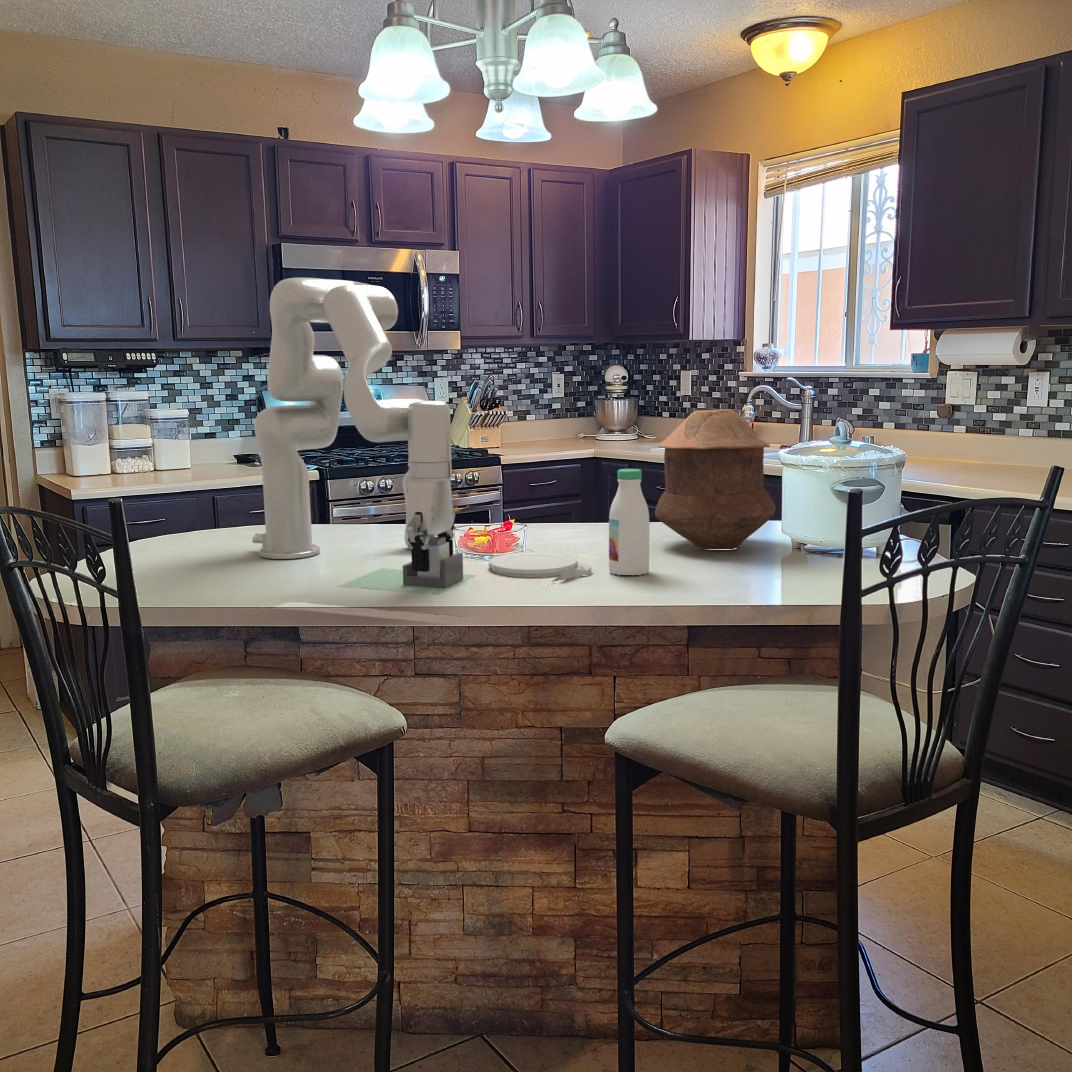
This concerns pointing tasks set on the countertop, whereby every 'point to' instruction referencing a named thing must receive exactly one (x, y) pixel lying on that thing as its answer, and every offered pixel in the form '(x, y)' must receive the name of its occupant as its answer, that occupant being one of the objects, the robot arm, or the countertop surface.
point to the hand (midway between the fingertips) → (433, 565)
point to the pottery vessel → (714, 480)
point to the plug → (435, 556)
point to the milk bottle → (629, 526)
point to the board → (395, 582)
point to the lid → (539, 565)
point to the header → (449, 574)
